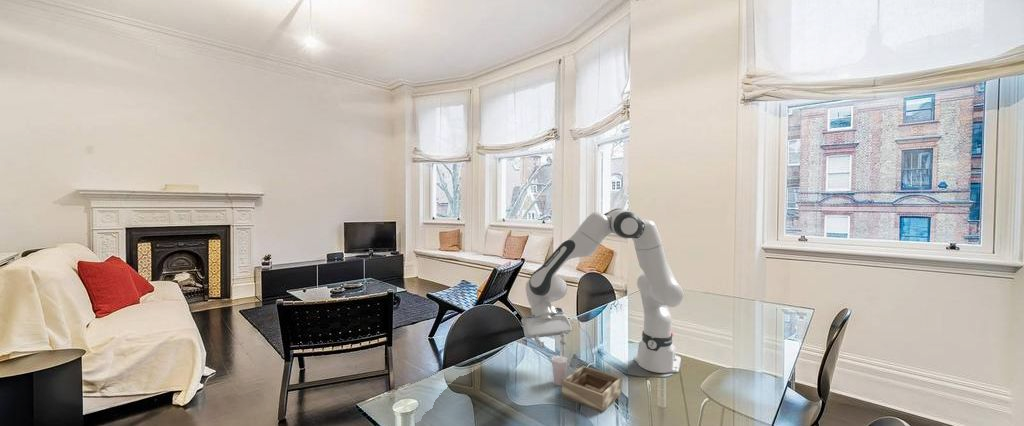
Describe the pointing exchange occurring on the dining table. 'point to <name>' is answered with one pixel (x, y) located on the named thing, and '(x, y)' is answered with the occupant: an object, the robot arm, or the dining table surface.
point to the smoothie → (559, 368)
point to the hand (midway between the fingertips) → (553, 345)
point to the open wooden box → (592, 388)
